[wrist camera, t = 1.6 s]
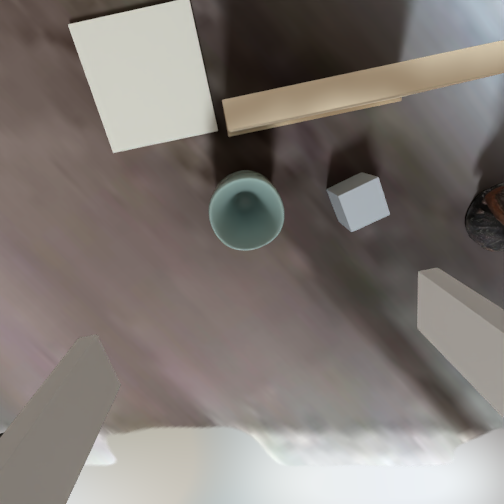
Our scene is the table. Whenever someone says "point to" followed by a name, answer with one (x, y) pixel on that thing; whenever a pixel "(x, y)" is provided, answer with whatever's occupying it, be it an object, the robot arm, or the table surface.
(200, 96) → the pad
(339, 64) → the table surface
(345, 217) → the slate block
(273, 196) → the cup
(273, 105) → the wooden board
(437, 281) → the robot arm
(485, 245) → the sculpture
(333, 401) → the table surface
